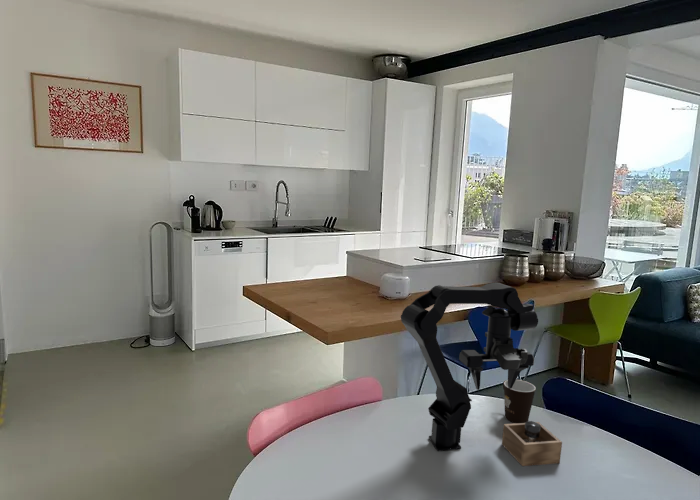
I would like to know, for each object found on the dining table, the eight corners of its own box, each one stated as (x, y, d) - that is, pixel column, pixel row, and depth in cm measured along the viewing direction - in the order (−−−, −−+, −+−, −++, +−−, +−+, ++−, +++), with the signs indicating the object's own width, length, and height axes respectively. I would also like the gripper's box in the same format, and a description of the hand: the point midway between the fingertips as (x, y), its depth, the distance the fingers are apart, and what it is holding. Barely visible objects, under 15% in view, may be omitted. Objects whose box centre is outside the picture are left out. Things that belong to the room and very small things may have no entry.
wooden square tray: (522, 466, 119) (524, 444, 118) (501, 444, 129) (503, 424, 128) (559, 463, 121) (562, 442, 120) (536, 441, 131) (538, 422, 130)
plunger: (524, 458, 120) (527, 433, 119) (509, 442, 128) (511, 418, 127) (552, 456, 122) (555, 431, 121) (535, 440, 129) (537, 416, 128)
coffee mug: (534, 427, 138) (538, 393, 137) (502, 423, 140) (505, 389, 138) (528, 409, 150) (531, 377, 148) (498, 405, 151) (501, 374, 150)
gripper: (479, 342, 120) (474, 404, 122) (549, 341, 123) (543, 400, 125) (460, 328, 130) (456, 385, 133) (525, 327, 134) (519, 382, 136)
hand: (493, 388), depth 131 cm, fingers open, 9 cm apart
